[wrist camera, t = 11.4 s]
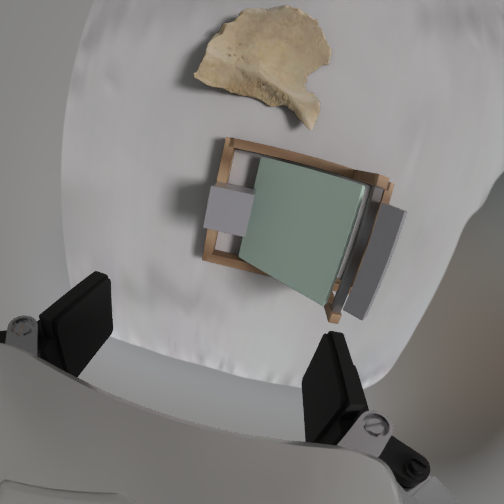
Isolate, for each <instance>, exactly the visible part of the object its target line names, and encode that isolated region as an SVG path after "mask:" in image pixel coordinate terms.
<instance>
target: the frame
mask: <svg viewBox="0 0 504 504" xmlns="http://www.w3.org/2000/svg"><path fill="white" fill-rule="evenodd" d="M235 148H237V149H242V150H247V151H251V152H256V153H261V154H265V155H269V156H274V157H278V158H282V159H286V160H290V161H294V162H298V163H301V164H305V165H309V166H312V167H316V168H319V169H323V170H326V171H330V172H333V173H336V174H340V175H343V176H346V177H349V178H352V179H355V180H359V181H362V182H365V183H367V184H370V185H372V187H371V191H370V194H369V198H368V201H367V204H366V208H365V211H364V215H363V218H362V221H361V224H360V227H359V231H358V234H357V237H356V240H355V243H354V246H353V249H352V252H351V254H350V257H349V260H348V263H347V266H346V269H345V271H344V274H343V277H342V279H337V278H336V280H335V283H334V286H333V289H332V290H333V291H337V292H336V295H335V297H334V294H333V292H332V291H331V294H330V296H329V299H328V302H327V304H325V305H324V308H325V312H326V315H327V319H328V322H330V323H335V324H338V322H339V320H340V318H341V316H342V315H341V313H340V312H341V309H342V307H343V305H344V302H345V300H346V297H347V295H348V294H350V291H351V289H352V286H353V284H354V281H355V279H356V276H357V274H358V271H359V268H360V266H361V263H362V260H363V257H364V255H365V252H366V249H367V246H368V243H369V240H370V237H371V234H372V231H373V228H374V225H375V222H376V219H377V216H378V212H379V209H380V206H381V202H382V203H386V204H389V202H390V198H391V195H392V191H393V187H394V184H393V183H391V182H389V178H388V177H385V176H382V175H380V174H375V173H370V172H365V171H359V170H354V169H351V168H348V167H345V166H342V165H338V164H335V163H332V162H328V161H325V160H322V159H318V158H315V157H311V156H307V155H304V154H300V153H296V152H292V151H288V150H284V149H280V148H276V147H272V146H268V145H263V144H259V143H254V142H249V141H244V140H239V139H234V138H229V137H226V139H225V144H224V148H223V153H222V158H221V162H220V167H219V172H218V177H217V182H223V183H228V179H229V175H230V170H231V165H232V161H233V156H234V152H235ZM217 182H216V183H217ZM217 234H218V231H216V230H211V229H207V234H206V240H205V246H204V252H203V258H202V260H204V261H208V262H212V263H216V264H221V265H225V266H229V267H233V268H237V269H241V270H245V271H250V272H254V273H258V274H262V275H267V276H270V275H268V274H267V273H265V272H263V271H262V270H260V269H258V268H257V267H255V266H253V265H251V264H250V263H248V262H246V261H245V260H243V259H241V258H240V257H238V256H239V255H235V254H231V253H227V252H223V251H219V250H215V245H216V239H217ZM271 277H272V276H271Z"/></svg>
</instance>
